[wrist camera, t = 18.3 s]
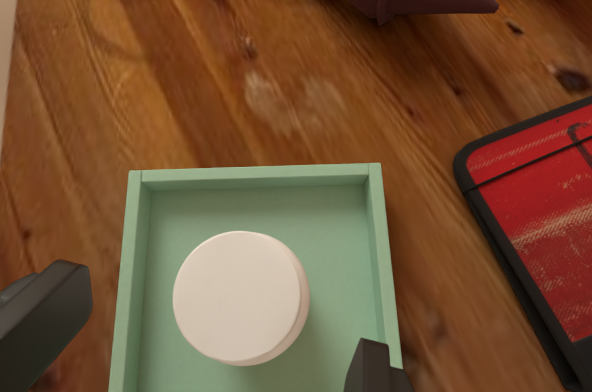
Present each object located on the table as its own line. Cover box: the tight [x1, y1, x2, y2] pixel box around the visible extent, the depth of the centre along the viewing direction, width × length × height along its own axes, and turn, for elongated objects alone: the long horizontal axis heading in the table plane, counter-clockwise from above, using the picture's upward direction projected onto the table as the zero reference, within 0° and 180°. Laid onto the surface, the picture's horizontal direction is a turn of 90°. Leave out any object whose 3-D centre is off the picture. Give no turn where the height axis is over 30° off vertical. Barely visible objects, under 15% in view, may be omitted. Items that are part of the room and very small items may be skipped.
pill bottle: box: [173, 231, 310, 366], centre depth 18 cm, size 6×6×10 cm
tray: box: [108, 163, 403, 392], centre depth 23 cm, size 16×16×3 cm
